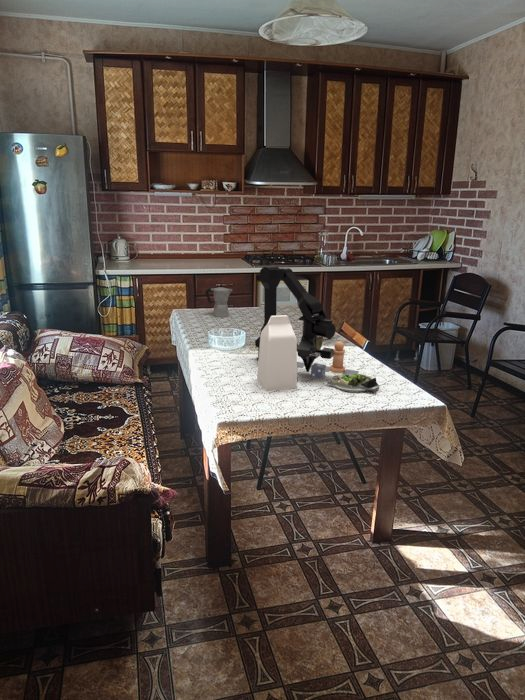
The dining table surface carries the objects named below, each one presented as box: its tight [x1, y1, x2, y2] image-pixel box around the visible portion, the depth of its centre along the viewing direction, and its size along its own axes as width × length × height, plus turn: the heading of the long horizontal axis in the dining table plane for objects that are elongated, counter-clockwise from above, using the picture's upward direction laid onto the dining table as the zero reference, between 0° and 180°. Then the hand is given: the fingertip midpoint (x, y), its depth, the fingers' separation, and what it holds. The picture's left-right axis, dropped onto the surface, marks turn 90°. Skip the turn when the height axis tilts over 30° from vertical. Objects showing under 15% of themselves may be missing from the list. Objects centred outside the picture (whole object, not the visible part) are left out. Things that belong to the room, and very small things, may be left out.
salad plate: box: [326, 373, 380, 393], centre depth 201 cm, size 19×18×5 cm
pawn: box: [329, 340, 346, 374], centre depth 215 cm, size 6×6×12 cm
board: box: [297, 361, 360, 375], centre depth 219 cm, size 28×7×1 cm, turn 68°
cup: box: [317, 336, 324, 350], centre depth 238 cm, size 8×7×8 cm
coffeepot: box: [204, 283, 233, 318], centre depth 302 cm, size 15×9×18 cm, turn 103°
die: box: [310, 362, 327, 380], centre depth 209 cm, size 4×5×5 cm
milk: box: [256, 314, 298, 391], centre depth 197 cm, size 12×12×26 cm
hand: (307, 371), depth 211 cm, fingers closed
